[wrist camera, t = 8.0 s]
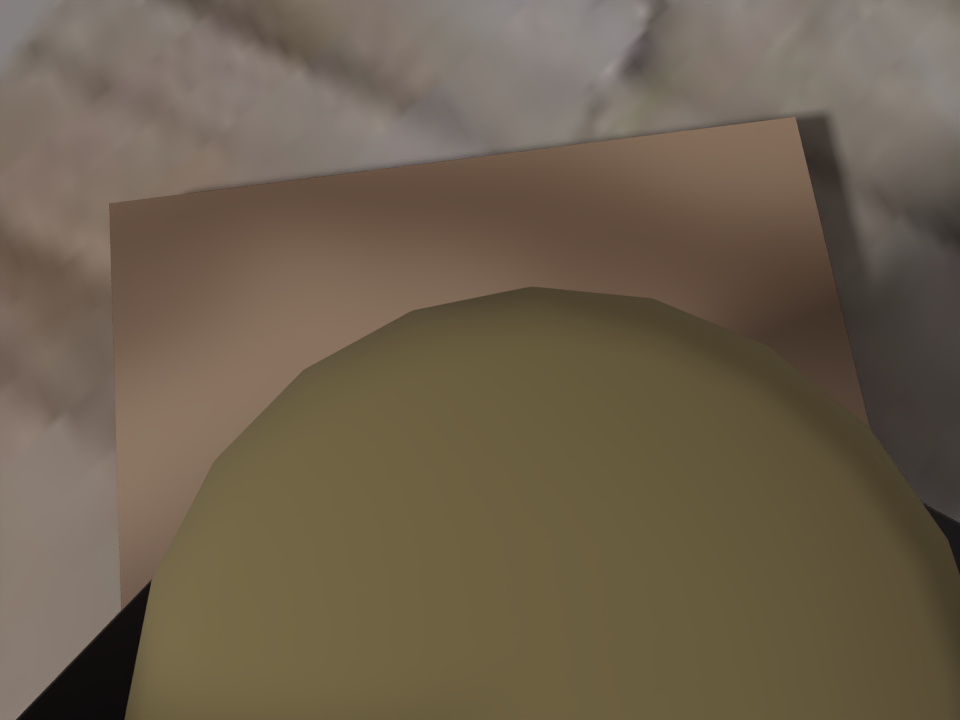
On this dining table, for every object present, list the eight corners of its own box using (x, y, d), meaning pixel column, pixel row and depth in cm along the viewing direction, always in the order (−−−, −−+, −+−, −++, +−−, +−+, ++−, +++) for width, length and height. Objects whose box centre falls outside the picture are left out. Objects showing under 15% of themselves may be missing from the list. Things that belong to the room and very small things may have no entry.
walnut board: (1003, 1115, 15) (1045, 1159, 14) (168, 1235, 15) (141, 1289, 14) (777, 144, 20) (795, 116, 18) (132, 226, 19) (109, 204, 18)
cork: (735, 502, 15) (1275, 285, 5) (658, 884, 14) (1190, 1823, 3) (393, 411, 16) (184, 28, 5) (285, 771, 14) (-313, 1263, 4)
